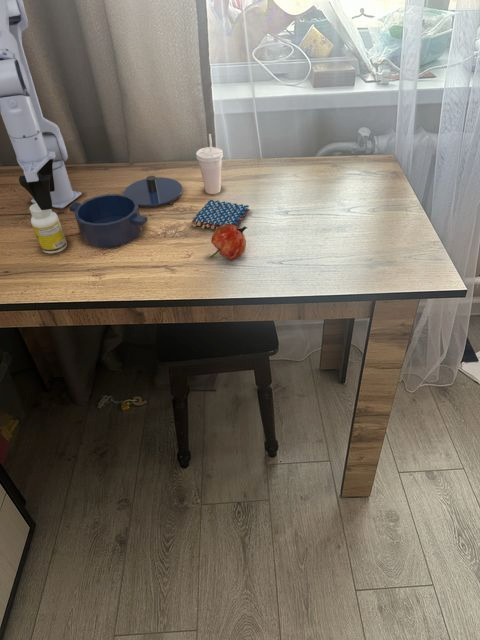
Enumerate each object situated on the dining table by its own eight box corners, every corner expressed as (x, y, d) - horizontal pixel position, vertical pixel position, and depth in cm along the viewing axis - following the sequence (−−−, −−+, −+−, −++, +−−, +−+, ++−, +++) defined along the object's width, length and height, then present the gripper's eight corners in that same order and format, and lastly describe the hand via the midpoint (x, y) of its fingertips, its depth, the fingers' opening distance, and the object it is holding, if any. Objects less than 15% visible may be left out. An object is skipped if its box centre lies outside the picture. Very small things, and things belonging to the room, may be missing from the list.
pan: (131, 255, 107) (125, 232, 103) (59, 238, 112) (51, 216, 108) (163, 223, 115) (159, 201, 112) (95, 209, 121) (89, 188, 117)
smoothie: (222, 197, 124) (217, 140, 114) (197, 195, 125) (190, 138, 115) (228, 185, 128) (224, 129, 118) (204, 183, 129) (198, 127, 119)
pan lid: (164, 213, 119) (161, 196, 116) (113, 203, 123) (108, 186, 120) (193, 186, 128) (191, 169, 125) (144, 177, 132) (141, 161, 129)
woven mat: (209, 205, 121) (208, 197, 120) (250, 211, 118) (250, 203, 117) (190, 227, 114) (189, 219, 113) (234, 234, 111) (233, 226, 110)
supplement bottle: (44, 241, 111) (29, 200, 104) (69, 239, 111) (55, 198, 105) (39, 255, 107) (22, 213, 100) (65, 253, 108) (50, 211, 101)
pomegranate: (219, 277, 104) (257, 250, 100) (195, 252, 100) (232, 222, 96) (222, 260, 110) (258, 234, 106) (199, 235, 106) (235, 207, 102)
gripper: (44, 145, 89) (66, 214, 99) (49, 116, 100) (69, 181, 109) (2, 149, 88) (29, 219, 98) (12, 120, 99) (35, 185, 108)
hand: (48, 199), depth 103 cm, fingers open, 7 cm apart
